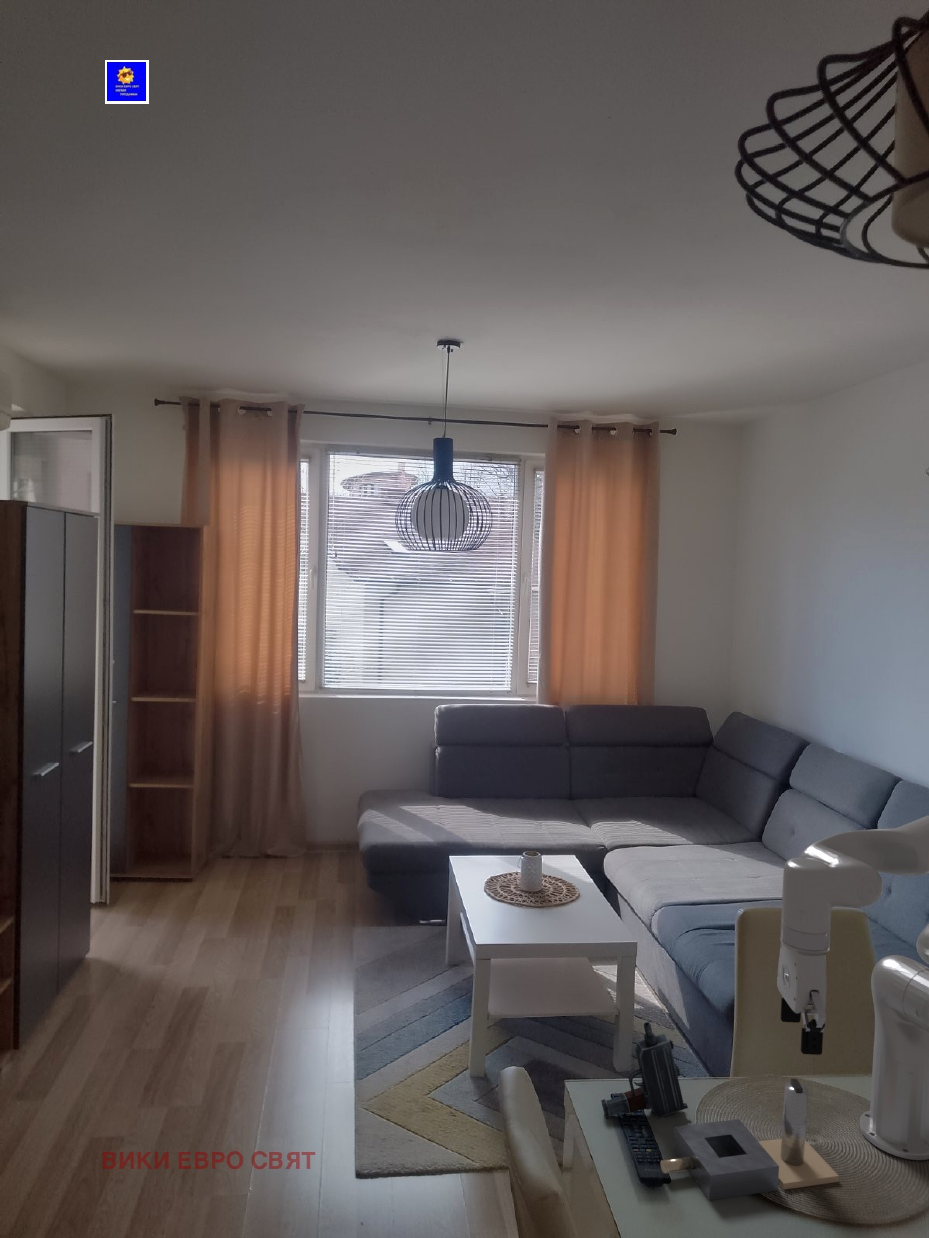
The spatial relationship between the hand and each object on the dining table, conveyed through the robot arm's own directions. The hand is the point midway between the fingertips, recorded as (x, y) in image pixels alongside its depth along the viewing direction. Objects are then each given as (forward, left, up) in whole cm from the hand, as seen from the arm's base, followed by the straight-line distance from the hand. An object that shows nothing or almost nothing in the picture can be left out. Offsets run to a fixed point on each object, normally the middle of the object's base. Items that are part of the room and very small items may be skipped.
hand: (800, 1036), depth 142 cm
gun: (+19, -17, -22) cm, 34 cm away
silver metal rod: (0, 0, -21) cm, 21 cm away
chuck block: (+15, -1, -22) cm, 26 cm away
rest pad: (0, 0, -22) cm, 22 cm away
